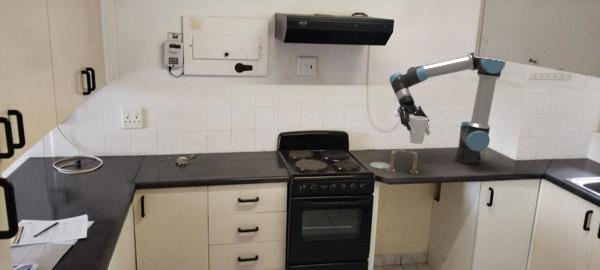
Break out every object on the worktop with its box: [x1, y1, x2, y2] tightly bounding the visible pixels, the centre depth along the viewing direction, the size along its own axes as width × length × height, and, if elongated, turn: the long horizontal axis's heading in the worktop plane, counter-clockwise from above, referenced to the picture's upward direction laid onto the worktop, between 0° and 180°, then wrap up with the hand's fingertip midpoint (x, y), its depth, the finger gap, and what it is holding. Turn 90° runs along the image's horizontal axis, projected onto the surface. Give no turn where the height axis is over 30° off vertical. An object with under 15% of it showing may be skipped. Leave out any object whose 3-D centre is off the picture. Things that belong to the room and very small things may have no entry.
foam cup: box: [409, 115, 429, 145], centre depth 254 cm, size 10×9×13 cm
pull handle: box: [386, 148, 419, 174], centre depth 259 cm, size 16×7×11 cm, turn 86°
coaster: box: [369, 161, 390, 170], centre depth 268 cm, size 11×11×1 cm
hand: (421, 134), depth 252 cm, fingers closed on foam cup, 9 cm apart
